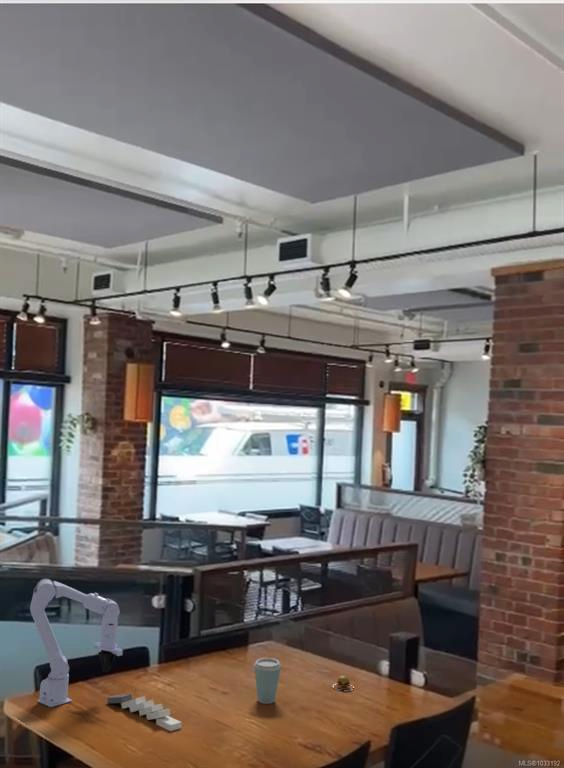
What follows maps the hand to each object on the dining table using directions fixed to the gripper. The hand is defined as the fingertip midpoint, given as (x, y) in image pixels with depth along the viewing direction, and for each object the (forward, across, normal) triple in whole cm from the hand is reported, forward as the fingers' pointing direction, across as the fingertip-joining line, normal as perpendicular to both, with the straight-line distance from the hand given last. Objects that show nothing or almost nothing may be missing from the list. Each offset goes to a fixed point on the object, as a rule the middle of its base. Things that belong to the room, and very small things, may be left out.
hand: (106, 671), depth 284 cm
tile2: (+9, -12, 0) cm, 15 cm away
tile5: (+9, -27, 0) cm, 28 cm away
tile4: (+9, -22, 0) cm, 24 cm away
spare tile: (+9, -5, 0) cm, 10 cm away
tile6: (+9, -32, 0) cm, 33 cm away
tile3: (+9, -17, 0) cm, 19 cm away
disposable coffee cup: (+10, -42, -44) cm, 61 cm away
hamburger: (+11, -54, -80) cm, 97 cm away
